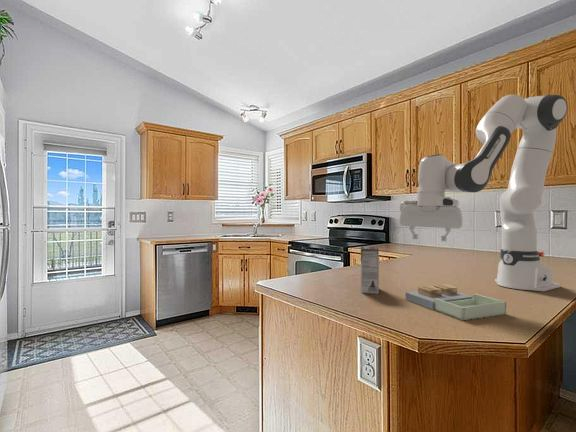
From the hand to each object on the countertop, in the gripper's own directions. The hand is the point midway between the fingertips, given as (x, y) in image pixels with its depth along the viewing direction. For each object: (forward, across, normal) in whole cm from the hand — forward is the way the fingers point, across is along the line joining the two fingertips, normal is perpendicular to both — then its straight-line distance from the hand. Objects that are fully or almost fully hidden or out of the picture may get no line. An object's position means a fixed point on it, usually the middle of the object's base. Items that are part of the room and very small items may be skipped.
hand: (429, 240), depth 114 cm
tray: (+19, +14, -15) cm, 28 cm away
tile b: (+17, +2, -10) cm, 19 cm away
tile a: (+17, +6, -4) cm, 18 cm away
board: (+19, +5, -8) cm, 21 cm away
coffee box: (+20, -19, -5) cm, 28 cm away
